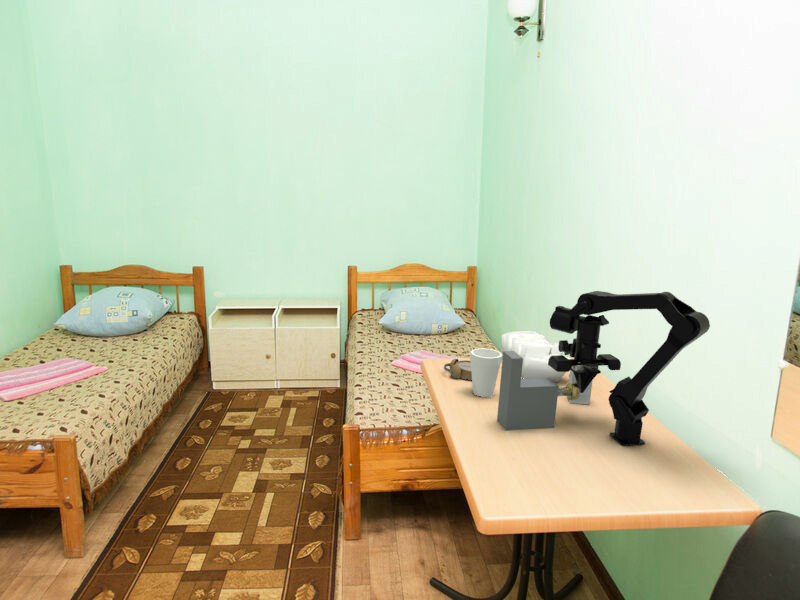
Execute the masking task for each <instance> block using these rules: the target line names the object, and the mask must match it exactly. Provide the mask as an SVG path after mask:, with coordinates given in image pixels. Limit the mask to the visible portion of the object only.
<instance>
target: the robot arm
mask: <svg viewBox="0 0 800 600" xmlns="http://www.w3.org/2000/svg"><path fill="white" fill-rule="evenodd" d="M619 310H627V311H629V310H657V311H658V312H659V313H660V314H661V316H662V317H663V318H664V320H665V321H666V322H667V324H669V325H670V326H671V328H670V330H668V334H667V336H666V340H665V341H664V342H663V344H662V345H660V347H658V349H657V350H656V351H655V352H654V353H653V355H651V357H650V358H649V359H648V360H647V361H646V362H645V364H644V365H643V366H642V367H641V368H640V369H639V370H638V371H637V372H636V374H635V375H633V377H632V378H631V377H630V376H627V377H624V378H622V379H620V380H619V381H618V382H617V383H616V385H615V386H614V388H613V389H611V390H610V391H609V393H610V395H609V396H608V402H609V403H608V404H609V406H610V407H611V409H612V414H613V419H614V420H615V424H614V425H615V426H614V431H613V432H609V434H608V435H609V436H610V437H612V438H613V439H614V440H615V441H616V442H618V443H619V444H620V445H622V446H624V447H626V446H636V445H638V446H639V445H640V446H641V445H645V444H646V442H645V441H644V439H642V438H641V436H642V430H643V425H644V424H643V418H645V417H647V414H648V413H649V411H650V410H649V408H648V406H647V405H646V403H645V401H644V400H643V399H644V397H645V396H646V393H647V390H648V387H649V386H650V385H651V384H652V383H653V382H654V381H655V380H656V378H657V377H658V376H659V375H660V374H661V373H662V372H663V371H664V370H665V368H667V367H668V366H669V364H670V363H671V362H672V361H673V360H674V359H675V358H676V357H677V356H678V355H679V353H680V352H681V351H683V349H685V348H686V347H688V346H689V345H690V344H692V343H694V342H695V341H696V340H698V339H699V338H701V337H702V336H703V335H705V334H706V333H707V332H708V331H709V329H710V327H711V324H710V320H709V318H708V317H707V315H706V314H704V313H702V312H701V311H697V310H695V309H694V308H693V307H692V306H690V305H689V304H687V303H685V302H684V301H682V300H680V299H679V298H678V297H677V296H676V295H674V294H673V293H672V292H670V291H662V292H651V293H650V292H649V293H647V292H646V293H626V294H616V293H611V292H608V291H602V290H594V291H590V292H586V293H582V294H580V295H579V296H578V298H577V302H576V304H575V305H574V306H573V307H572V308H570V307H565V306H562V305H557V306H555V309H554V311H553V312H552V314H551V317H550V318H549V327H550V329H552V330H554V331H559V332H561V333H566V334H570V335H572V334H573V333H575V332H576V338H573V340H572V343H569V341H568V340H567V339H564V340H559V342H558V343H559V346H558V347H559V352H563V353H564V354H562V355H557V356H551V357H550V358H549V360H548V365H549V366H550V367H552V368H553V369H554V370H555V371H557V372H566V373H568V372H569V373H570V370H572V371H573V373H574V375H575V378H576V382H577V384H578V386H579V389H580V393H583V392H584V391H585V389H586V388H587V387H588V385H589V384H590V382H591V381H592V382H593V380H594V379H595V377H597V375H598V374H601V373H602V371H601V370H600V369H599V366H603V367H604V366H607V368H608V369H609V370H610V371H620V370H621V366H622V363H621V360H620V359H619V358H618V357H616V356H615V355H614V356H613V354H610V353H606V354H605V353H603V354H602V353H601V354H600V353H599V354H598V349H601V345H602V344H601V343H599V342H600V341H599V340H600V332H601V327H603V326H606V325H609V324H610V322H609V321H610V320H608V319H607V318H606V317H605V315H604V314H602V315H599V316H596V315H595V314H600V313H604V312H609V311H619ZM583 315H584V316H583ZM564 356H566V357H567V356H569V358H571V359H567V358H566V357H564Z"/></svg>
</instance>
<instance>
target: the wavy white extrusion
mask: <svg viewBox="0 0 800 600" xmlns="http://www.w3.org/2000/svg"><path fill="white" fill-rule="evenodd" d="M558 346H559V342H554V343H553V344H552V343H551V342H549V341H548V340H547V339H546V336H545V335H544V334H540V333H538V332H537V331H535V330H515V331H507V332H506V333H503V334H501V353H502V359H503V351H514V352H516V353H517V354H518V355H519V356H521V357H522V358H523V364H522V374H521V377H522V378H524V379H527V378H550V379H551V380H552V381H553V382H555V383H558V382H560V381H561V380H562V379H563V377H564V376H565V374H566V373H567V372H557V371H555V370H554V369H553V368H552V367H550V366H549V365H548V360H549V358H550V357H551V356H557V355H563V353H564V352H559V347H558ZM563 356H564V357H566V358H567V359H572V357H570V356H567V355H563ZM522 378H521V379H522Z"/></svg>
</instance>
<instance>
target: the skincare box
mask: <svg viewBox="0 0 800 600" xmlns="http://www.w3.org/2000/svg"><path fill="white" fill-rule="evenodd" d="M569 374H570V377H569V376H568V378H569V379H568V383H577V382H576V378H575V375H574V373H573V371H572V370H570V371H569ZM592 387H593V380H592V381H591V382H590V384H589V385H588V387H587V388H586V389H585V391H584V392H583V393H580V396H579V398H578V399H577V400H569V399H568V398H567V401H568V402H569V404H577V405H578V404H579V405H590V404H591V395H592Z"/></svg>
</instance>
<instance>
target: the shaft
mask: <svg viewBox="0 0 800 600" xmlns="http://www.w3.org/2000/svg"><path fill="white" fill-rule="evenodd" d="M579 396H580V389H579V386H578V384H577V383H569V382H566V385H565V386H563V387H562V386H561V387H560V386H559V389H558V397H566V398H567V400H568V399H569V400H577V399H578V398H579ZM569 400H568V401H569Z"/></svg>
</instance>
